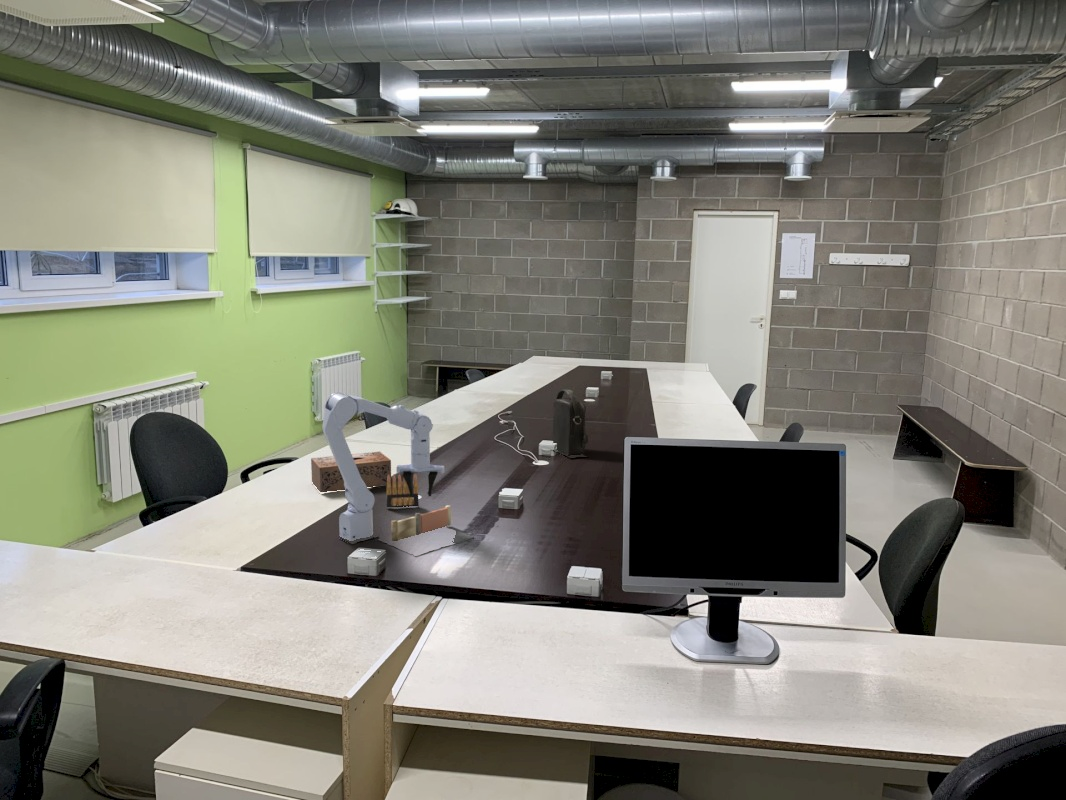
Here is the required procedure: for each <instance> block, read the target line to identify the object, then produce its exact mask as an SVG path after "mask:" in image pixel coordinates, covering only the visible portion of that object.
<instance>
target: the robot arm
mask: <svg viewBox="0 0 1066 800" xmlns="http://www.w3.org/2000/svg"><path fill="white" fill-rule="evenodd" d="M323 408H324V412H323V420H322V427H321V428H322V432H323V435H324V437H325V440H326V441H327V443H328V446H329V449H330V450H331V454H332V456H334V458H335V461H336V463H337V465H338V468H339V470H340V473H341V475H342V477H343V480H344V486H345V491H344V492H345V493H344V494H345V495H344V497H345V499H346V501H347V502H348V505H347V510H345V511H344V512H342V513H340V514H339V518H338V525H339V528H338V529H339V534H338V535H339V536H340V537H342V538H344V539H347V540H349V541H354V540H356V539H360V538H366V537H370V536H372V535H373V533H374V525H373V520H374V519H373V518H374V515H373V507H374V505H375V501H376V500H375V499H376V498H375V495H374V493H372V491H370V490H369V489H367V486H366V485H365V483H364V481H363V480H362V478H361V476H360V474H359V471H358V469H357V466H356V464H355V462H354V459H353V457H352V454H353V453H351V450H350V447H349V445H348V442H347V440H346V438H345V435H344V432H343V430H344V427H345V425H346V424H347V423H348V422H349V421H350V420H351V419H352V418H353V417H354V416H355V415H360V414H363V413H365V412H366V413H368V414H373V415H375V416H379V417H382V418H386V420H387V422H388V423H389V424H390V425H394V426H396V427H399V428H402V429H405V430H410V464H399V465H396V473H397V474H401V473H403V474H402V478H404V479H405V481H406V483H407V486H408V488H409V492H410V496H412V495H413V484H414V473H419V474H420V473H424V474H425V473H429V474H428V475H427V477H428V493H427V494H428V497H431V496H432V493H433V492H432V491H433V488H434V484H435V480H436V478H437V476H438V474H444V473H445V465H436V464H431V462H430V461H431V457H430V455H431V449H430V447H431V444H430V443H431V442H430V441H431V440H430V434H431V433H430V432H431V431H432V430H433V427H434V424H433V422H432V420H431V419H430V417H429V416H427V415H426V414H423V413H420V412H419V411H418V410H415V409H414V410H411V409H407V408H405V405H402V404H399V405H393V406H391V407H389V406H385V405H382V404H380V403H377V402H374V401H372V400H369V399H366V398H363V397H360V396H356V395H352V394H346V395H345V394H344V393H342V392H334V393H331V395H329V397H328V398H327V400H326V401H325V403H324V405H323ZM353 537H354V538H353Z"/></svg>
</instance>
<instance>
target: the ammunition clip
mask: <svg viewBox="0 0 1066 800" xmlns="http://www.w3.org/2000/svg"><path fill="white" fill-rule="evenodd" d="M402 478H403V477H402V475H401V473H398V477H396V474H395V473H393V475H392V478H391V479H390V475H389V474H388V477H387V486H386V506H387V507H403V506H404V507H406V506H408V507H409V506H420V504H419V484H418V476H417V472H414V474H413V495H412V496H410V492H409V488H408V486H407V483H406V481H405V479H404V478H403V479H402ZM402 480H403V481H402ZM397 505H398V506H397Z"/></svg>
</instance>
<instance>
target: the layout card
mask: <svg viewBox="0 0 1066 800" xmlns="http://www.w3.org/2000/svg"><path fill="white" fill-rule="evenodd" d="M455 530H456V529H455ZM453 539H454V542H453V541H452V542H453V543H457V544H459V542H460V543H463V542H466V541H469V540H472V539H475V537H474V536H473V535H469V534H466V533H464V532H462V531H459V530H456V535H455V538H453Z"/></svg>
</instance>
